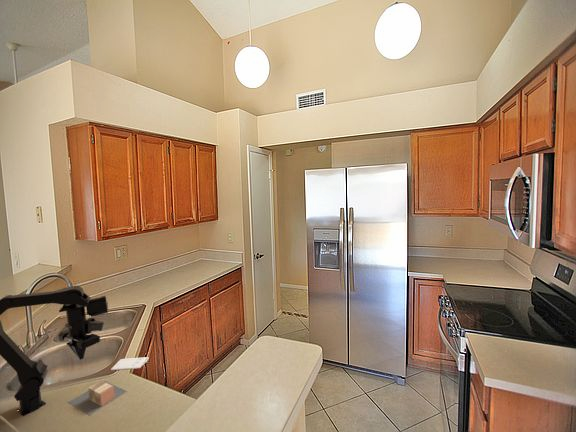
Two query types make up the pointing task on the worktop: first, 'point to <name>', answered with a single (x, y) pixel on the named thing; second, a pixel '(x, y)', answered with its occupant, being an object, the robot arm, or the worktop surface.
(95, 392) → the block
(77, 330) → the robot arm
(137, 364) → the external hard drive
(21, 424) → the worktop surface
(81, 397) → the mat
